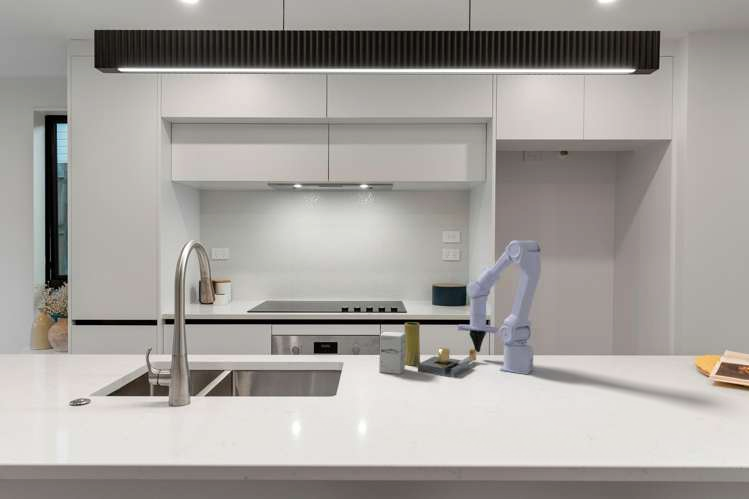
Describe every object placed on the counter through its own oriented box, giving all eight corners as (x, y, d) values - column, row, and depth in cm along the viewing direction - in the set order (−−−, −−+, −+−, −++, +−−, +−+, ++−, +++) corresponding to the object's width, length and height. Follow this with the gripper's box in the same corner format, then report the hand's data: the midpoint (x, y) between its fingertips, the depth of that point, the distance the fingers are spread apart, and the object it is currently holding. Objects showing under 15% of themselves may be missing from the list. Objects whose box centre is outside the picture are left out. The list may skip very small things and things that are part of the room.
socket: (469, 368, 175) (469, 361, 175) (454, 377, 164) (454, 369, 164) (434, 363, 182) (434, 356, 181) (417, 371, 171) (417, 363, 170)
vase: (400, 362, 182) (400, 322, 182) (415, 360, 185) (415, 321, 184) (408, 366, 177) (408, 325, 176) (423, 364, 179) (424, 324, 179)
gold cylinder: (450, 369, 173) (451, 349, 173) (446, 371, 170) (446, 351, 170) (441, 368, 175) (441, 347, 175) (436, 370, 172) (436, 349, 172)
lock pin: (476, 359, 184) (476, 349, 184) (461, 368, 172) (461, 357, 172) (471, 358, 185) (471, 349, 184) (456, 367, 173) (456, 356, 173)
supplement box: (378, 372, 169) (378, 334, 168) (384, 367, 176) (385, 330, 175) (400, 374, 167) (400, 336, 166) (405, 369, 174) (406, 332, 173)
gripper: (455, 314, 186) (455, 351, 187) (495, 317, 180) (495, 355, 181) (460, 311, 193) (460, 347, 193) (499, 314, 187) (499, 351, 187)
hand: (477, 351), depth 187 cm, fingers closed
